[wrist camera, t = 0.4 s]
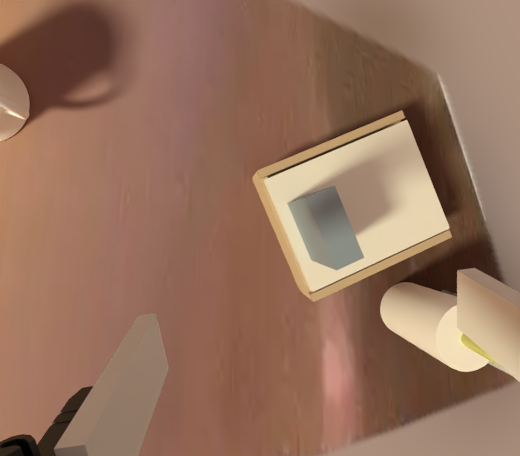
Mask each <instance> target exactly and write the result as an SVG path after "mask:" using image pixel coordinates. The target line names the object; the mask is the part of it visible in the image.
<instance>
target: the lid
mask: <svg viewBox="0 0 520 456" xmlns="http://www.w3.org/2000/svg"><path fill="white" fill-rule="evenodd" d="M264 183H265V186H266V188H267V190H268V193H269V195H270V197H271V200H272V202H273V205H274V207H275V209H276V212H277V214H278V216H279V219H280V221H281V223H282V226H283V228H284V230H285V233H286V235H287V238H288V240H289V242H290V245H291V247H292V249H293V252H294V254H295V256H296V259H297V261H298V263H299V266H300V268H301V271H302V273H303V275H304V278H305V280H306V282H307V285H308V287H309V289H310V291H312V292H314V291H316V290H318V289H320V288H322V287H325V286H327V285H329V284H331V283H333V282H335V281H338V280H340V279H342V278H344V277H346V276H348V275H350V274H353V273H355V272H357V271H359V270H361V269H363V268H365V267H368V266H370V265H372V264H374V263H376V262H378V261H380V260H383V259H385V258H387V257H389V256H391V255H393V254H395V253H398V252H400V251H402V250H404V249H406V248H408V247H410V246H413V245H415V244H417V243H419V242H421V241H423V240H426V239H428V238H430V237H432V236H434V235H436V234H438V233H441V232H443V231H445V230H447V229H449V225H448V223H447V220H446V217H445V215H444V212H443V210H442V207H441V205H440V202H439V200H438V197H437V194H436V192H435V189H434V187H433V184H432V182H431V179H430V177H429V174H428V172H427V169H426V166H425V164H424V161H423V159H422V156H421V154H420V151H419V149H418V146H417V143H416V141H415V138H414V136H413V133H412V131H411V128H410V126H409V123H408V121H407V120H405V121H403V122H400V123H398V124H396V125H393V126H391V127H389V128H386V129H384V130H381V131H379V132H377V133H374V134H372V135H370V136H367V137H365V138H362V139H360V140H358V141H355V142H353V143H351V144H348V145H346V146H343V147H341V148H339V149H336V150H334V151H332V152H329V153H327V154H324V155H322V156H320V157H317V158H315V159H313V160H310V161H308V162H305V163H303V164H301V165H298V166H296V167H294V168H291V169H289V170H286V171H284V172H282V173H279V174H277V175H275V176H272V177H270V178H267V179H265V180H264Z"/></svg>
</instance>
